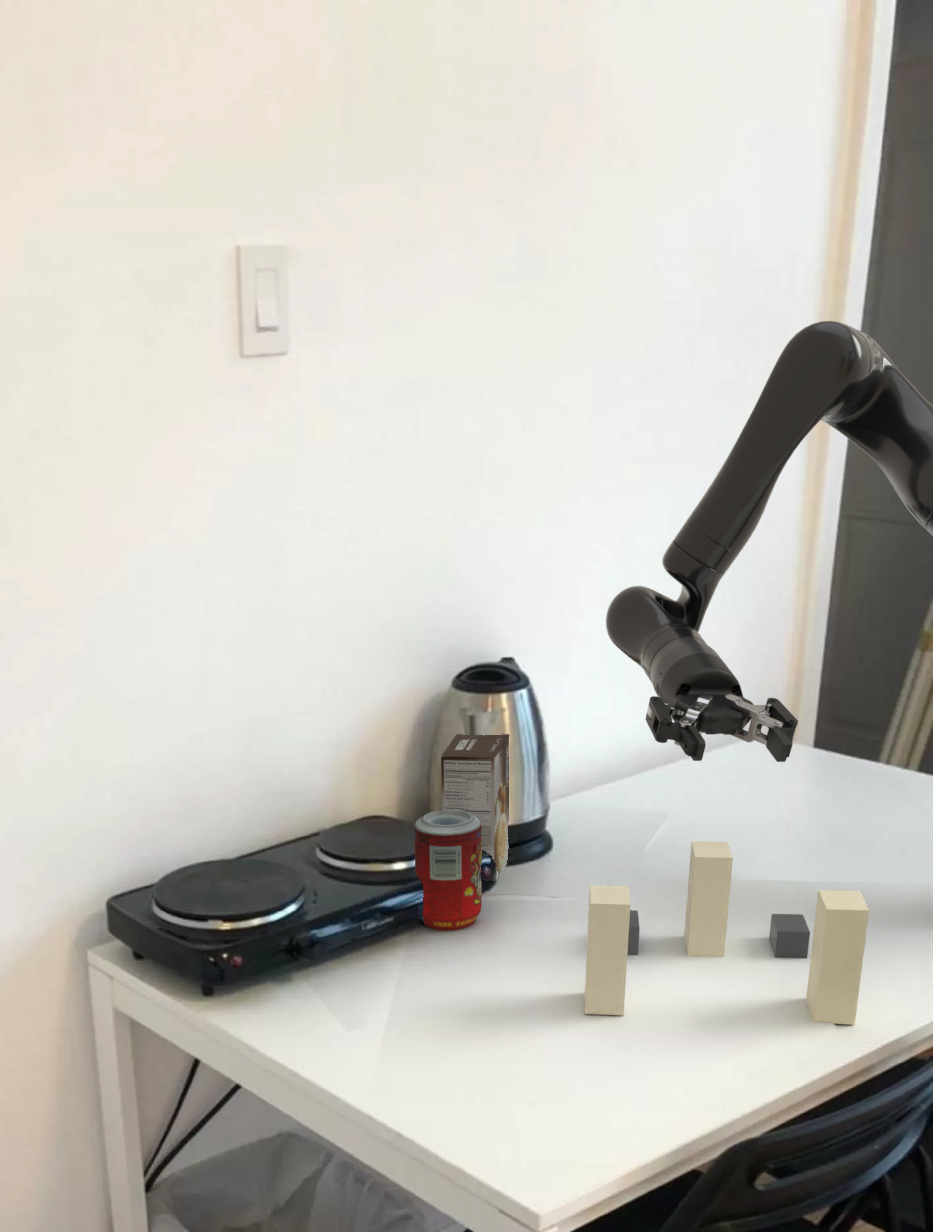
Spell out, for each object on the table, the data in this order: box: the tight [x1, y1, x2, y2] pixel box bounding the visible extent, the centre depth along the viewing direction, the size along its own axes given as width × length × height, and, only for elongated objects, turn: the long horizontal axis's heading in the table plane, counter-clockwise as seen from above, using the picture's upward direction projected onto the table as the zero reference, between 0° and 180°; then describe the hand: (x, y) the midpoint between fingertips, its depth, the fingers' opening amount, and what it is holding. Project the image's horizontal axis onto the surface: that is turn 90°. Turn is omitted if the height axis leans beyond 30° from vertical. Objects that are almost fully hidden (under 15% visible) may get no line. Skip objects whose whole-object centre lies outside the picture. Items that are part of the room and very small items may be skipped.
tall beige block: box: [683, 840, 734, 958], centre depth 149 cm, size 4×5×11 cm
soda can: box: [413, 809, 483, 932], centre depth 160 cm, size 7×7×12 cm
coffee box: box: [440, 733, 510, 882], centre depth 173 cm, size 9×6×16 cm
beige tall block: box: [805, 889, 870, 1026], centre depth 134 cm, size 4×5×11 cm
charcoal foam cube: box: [768, 913, 811, 959], centre depth 148 cm, size 3×5×4 cm, turn 167°
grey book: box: [627, 909, 641, 956], centre depth 152 cm, size 3×5×4 cm, turn 167°
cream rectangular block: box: [584, 884, 631, 1016], centre depth 139 cm, size 4×5×11 cm
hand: (742, 753), depth 148 cm, fingers open, 8 cm apart
